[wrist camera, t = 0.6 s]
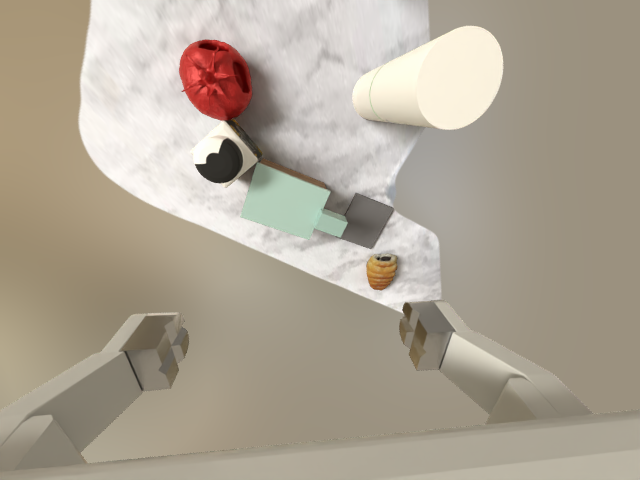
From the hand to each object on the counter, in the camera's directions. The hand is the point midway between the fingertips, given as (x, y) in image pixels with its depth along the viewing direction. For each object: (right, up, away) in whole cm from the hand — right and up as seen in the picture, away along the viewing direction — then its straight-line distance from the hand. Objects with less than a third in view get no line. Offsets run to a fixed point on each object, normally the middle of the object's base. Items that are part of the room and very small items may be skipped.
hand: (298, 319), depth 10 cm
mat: (+10, +7, +44) cm, 45 cm away
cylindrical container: (+10, +27, +33) cm, 44 cm away
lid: (-3, +9, +35) cm, 36 cm away
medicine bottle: (-14, +19, +35) cm, 42 cm away
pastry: (+15, -3, +50) cm, 52 cm away
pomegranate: (-14, +28, +31) cm, 44 cm away
